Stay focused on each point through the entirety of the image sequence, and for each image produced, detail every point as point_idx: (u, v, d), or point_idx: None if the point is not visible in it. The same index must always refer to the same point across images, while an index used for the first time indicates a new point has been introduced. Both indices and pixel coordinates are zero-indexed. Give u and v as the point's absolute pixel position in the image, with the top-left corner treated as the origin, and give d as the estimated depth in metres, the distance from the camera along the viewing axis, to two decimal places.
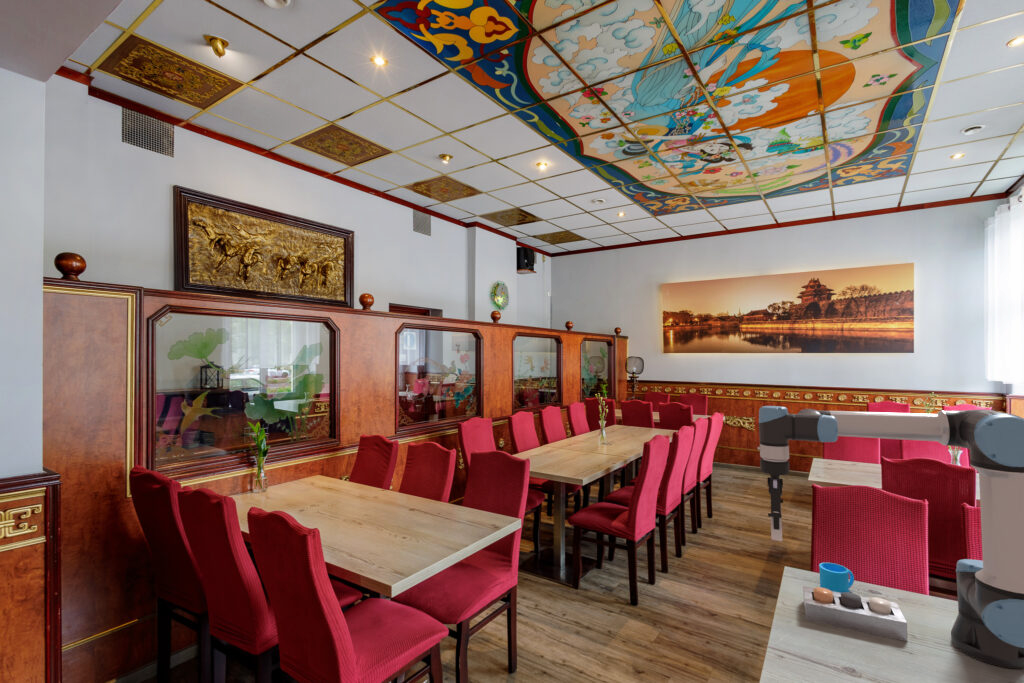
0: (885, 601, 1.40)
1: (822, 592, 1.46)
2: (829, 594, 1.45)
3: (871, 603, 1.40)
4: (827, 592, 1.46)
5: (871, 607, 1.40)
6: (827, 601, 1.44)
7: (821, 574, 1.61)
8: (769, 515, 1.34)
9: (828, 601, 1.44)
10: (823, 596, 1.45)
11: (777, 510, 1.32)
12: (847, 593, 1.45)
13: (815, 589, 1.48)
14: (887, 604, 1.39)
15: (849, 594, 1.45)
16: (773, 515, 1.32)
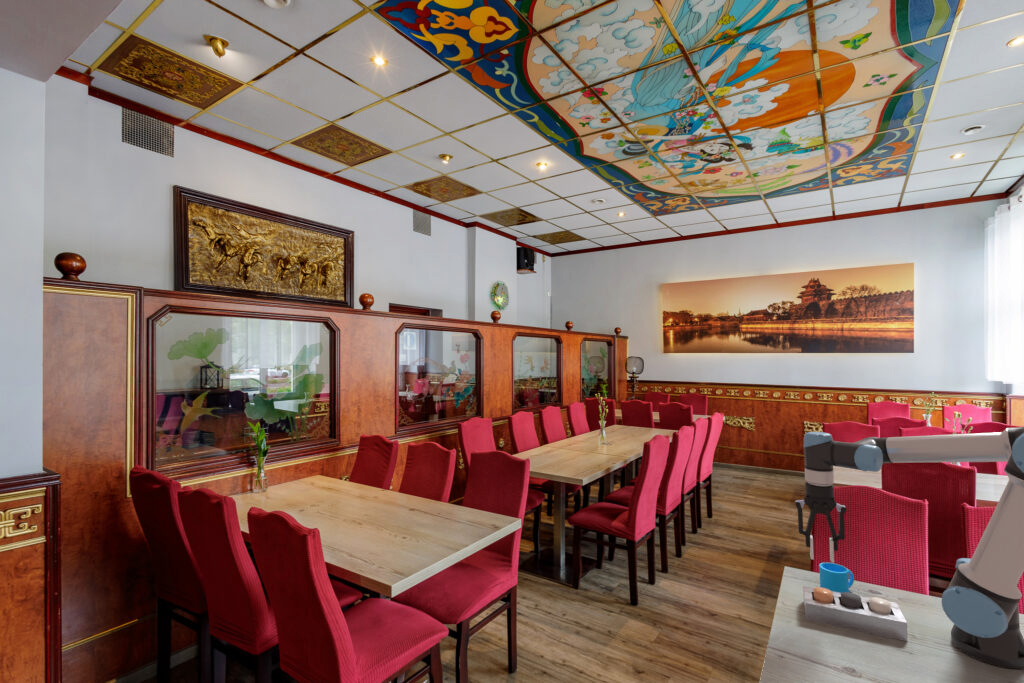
0: (885, 601, 1.40)
1: (822, 592, 1.46)
2: (829, 594, 1.45)
3: (871, 603, 1.40)
4: (827, 592, 1.46)
5: (871, 607, 1.40)
6: (827, 601, 1.44)
7: (821, 574, 1.61)
8: None
9: (828, 601, 1.44)
10: (823, 596, 1.45)
11: (798, 527, 1.50)
12: (847, 593, 1.45)
13: (815, 589, 1.48)
14: (887, 604, 1.39)
15: (849, 594, 1.45)
16: None
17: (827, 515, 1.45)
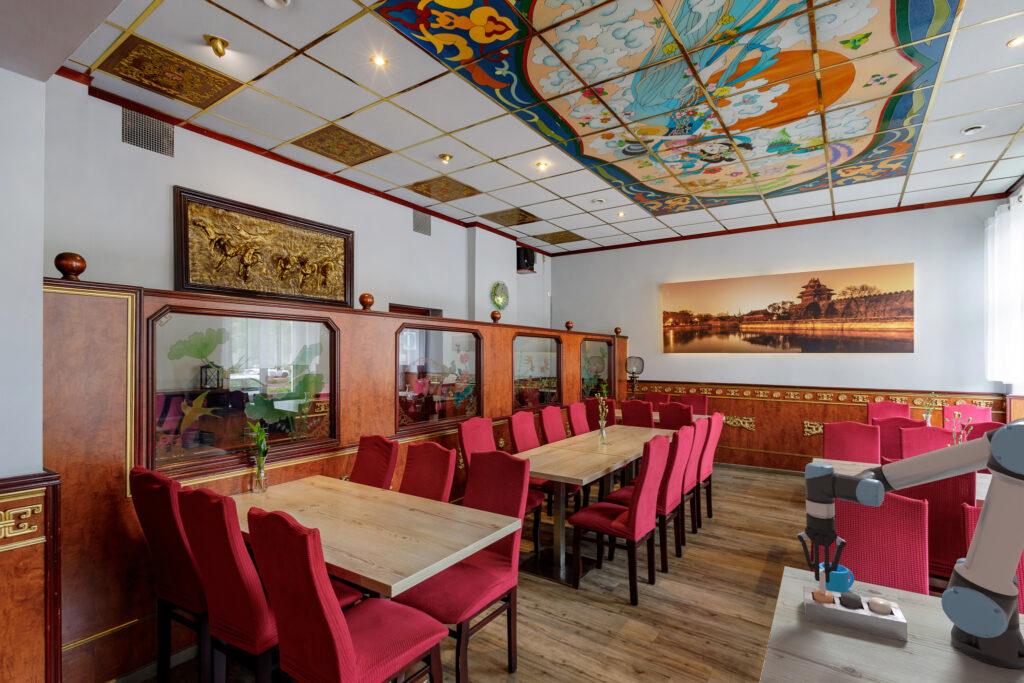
0: (885, 601, 1.40)
1: (822, 594, 1.46)
2: (829, 596, 1.45)
3: (871, 603, 1.40)
4: (827, 594, 1.46)
5: (871, 607, 1.40)
6: None
7: None
8: None
9: None
10: (823, 598, 1.45)
11: None
12: (847, 593, 1.45)
13: (815, 591, 1.48)
14: (887, 604, 1.39)
15: (849, 594, 1.45)
16: None
17: (825, 547, 1.45)
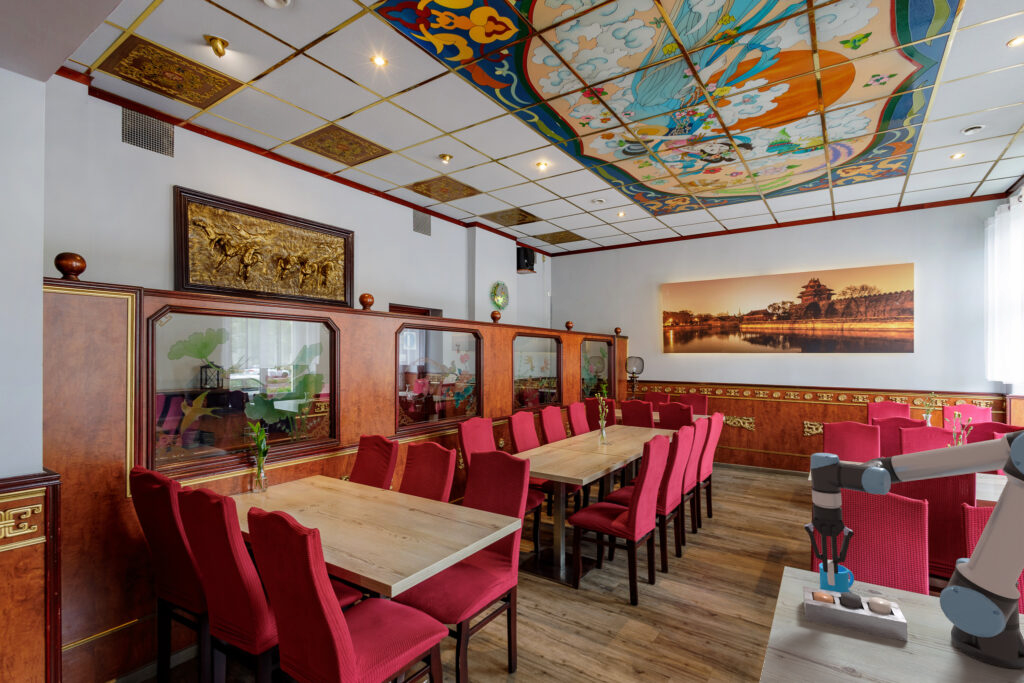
0: (885, 601, 1.40)
1: (822, 597, 1.46)
2: (829, 599, 1.45)
3: (871, 603, 1.40)
4: (827, 597, 1.46)
5: (871, 607, 1.40)
6: None
7: (821, 574, 1.61)
8: None
9: None
10: (823, 601, 1.45)
11: None
12: (847, 593, 1.45)
13: (815, 594, 1.48)
14: (887, 604, 1.39)
15: (849, 594, 1.45)
16: None
17: (833, 537, 1.44)
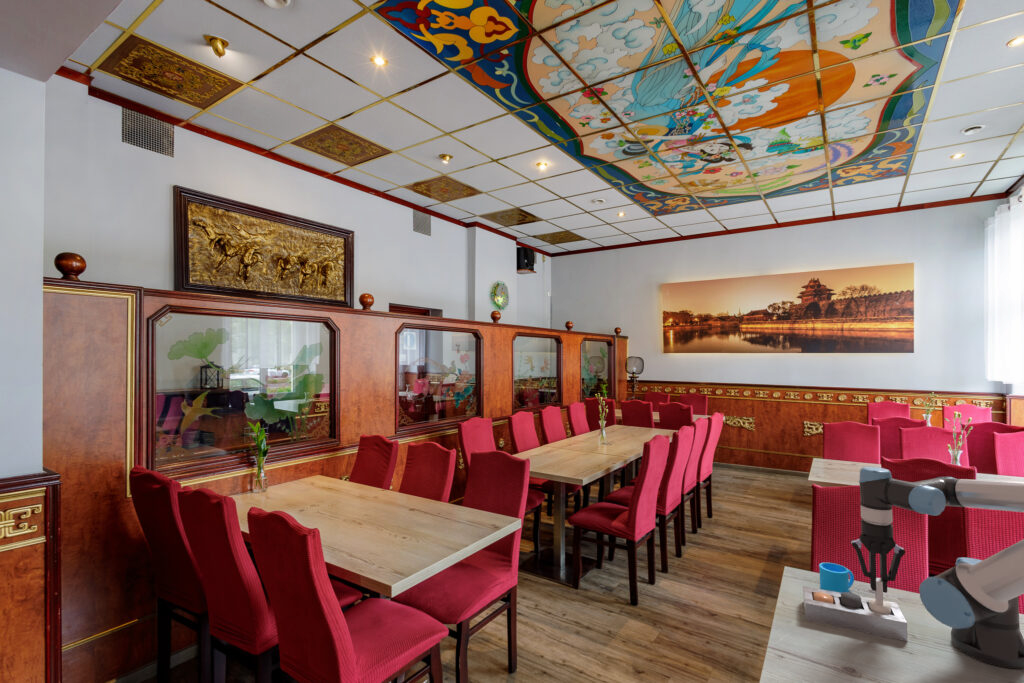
0: (885, 603, 1.40)
1: (822, 597, 1.46)
2: (829, 599, 1.45)
3: (871, 605, 1.40)
4: (827, 597, 1.46)
5: (871, 609, 1.40)
6: None
7: (821, 574, 1.61)
8: None
9: None
10: (823, 601, 1.45)
11: (862, 569, 1.42)
12: (847, 593, 1.45)
13: (815, 594, 1.48)
14: (887, 606, 1.39)
15: (849, 594, 1.45)
16: None
17: (883, 555, 1.39)
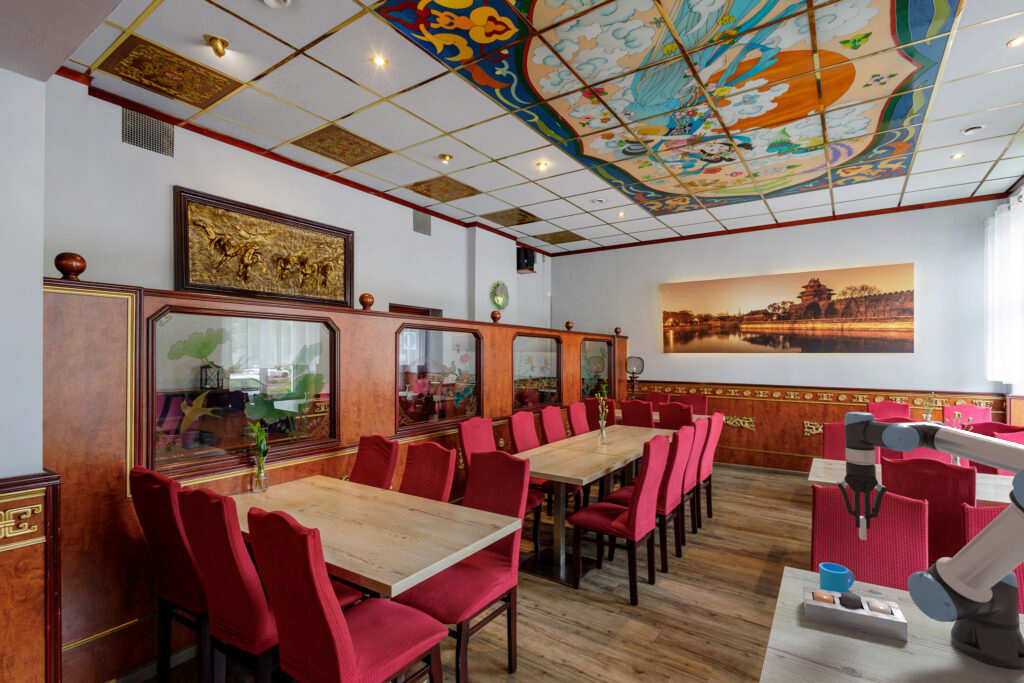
0: (885, 606, 1.40)
1: (822, 597, 1.46)
2: (829, 599, 1.45)
3: (871, 608, 1.40)
4: (827, 597, 1.46)
5: None
6: None
7: (821, 574, 1.61)
8: None
9: None
10: (823, 601, 1.45)
11: (846, 508, 1.51)
12: (847, 593, 1.45)
13: (815, 594, 1.48)
14: (887, 609, 1.39)
15: (849, 594, 1.45)
16: None
17: (866, 493, 1.47)
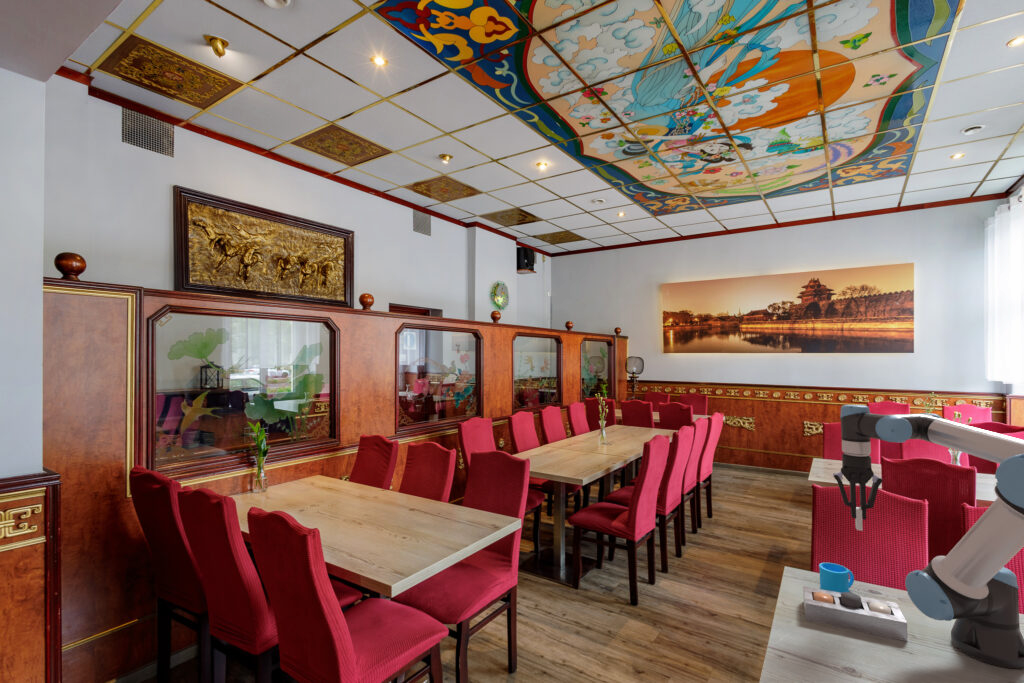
0: (885, 606, 1.40)
1: (822, 597, 1.46)
2: (829, 599, 1.45)
3: (871, 608, 1.40)
4: (827, 597, 1.46)
5: None
6: None
7: (821, 574, 1.61)
8: None
9: None
10: (823, 601, 1.45)
11: (843, 499, 1.53)
12: (847, 593, 1.45)
13: (815, 594, 1.48)
14: (887, 609, 1.39)
15: (849, 594, 1.45)
16: (844, 502, 1.54)
17: (862, 484, 1.50)
